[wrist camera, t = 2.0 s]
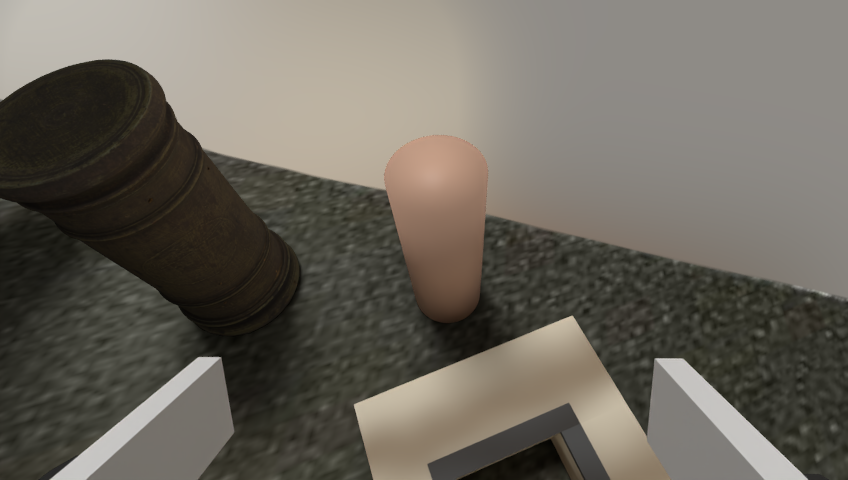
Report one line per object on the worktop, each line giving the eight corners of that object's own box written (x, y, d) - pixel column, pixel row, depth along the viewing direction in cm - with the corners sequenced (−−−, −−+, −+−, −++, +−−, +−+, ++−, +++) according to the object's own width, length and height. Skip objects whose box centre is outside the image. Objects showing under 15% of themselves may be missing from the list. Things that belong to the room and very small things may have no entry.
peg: (406, 276, 32) (371, 154, 21) (464, 255, 33) (462, 123, 21) (428, 333, 30) (403, 229, 18) (490, 308, 30) (506, 192, 18)
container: (319, 253, 34) (200, 65, 19) (263, 354, 30) (53, 216, 15) (232, 228, 37) (65, 41, 21) (169, 317, 32) (-96, 165, 17)
